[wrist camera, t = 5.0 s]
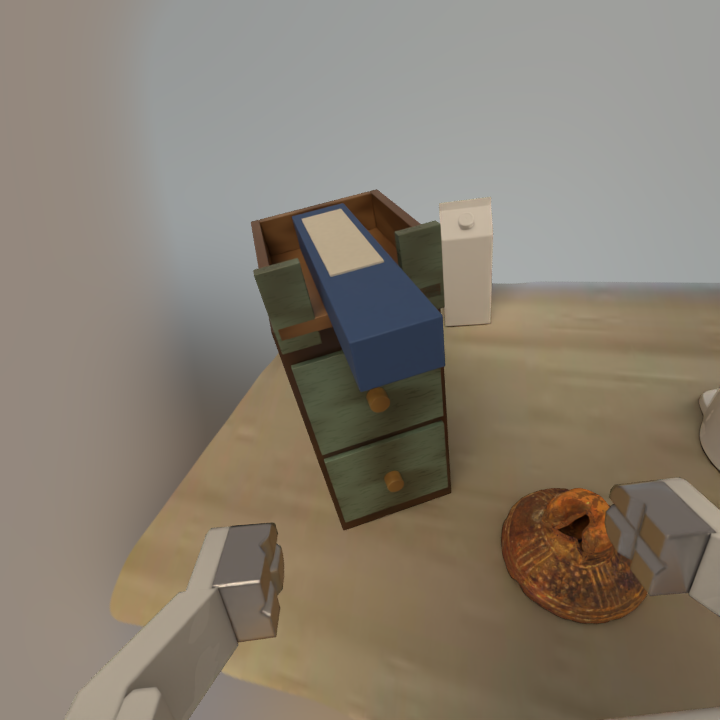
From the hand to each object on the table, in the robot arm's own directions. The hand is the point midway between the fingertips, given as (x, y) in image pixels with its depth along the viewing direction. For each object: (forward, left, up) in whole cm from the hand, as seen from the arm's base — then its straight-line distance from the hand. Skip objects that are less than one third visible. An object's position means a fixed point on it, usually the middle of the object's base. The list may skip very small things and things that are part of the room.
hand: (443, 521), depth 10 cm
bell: (-15, -9, -30) cm, 35 cm away
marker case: (-2, -19, -4) cm, 20 cm away
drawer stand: (-2, -24, -30) cm, 38 cm away
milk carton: (-25, -49, -30) cm, 63 cm away
